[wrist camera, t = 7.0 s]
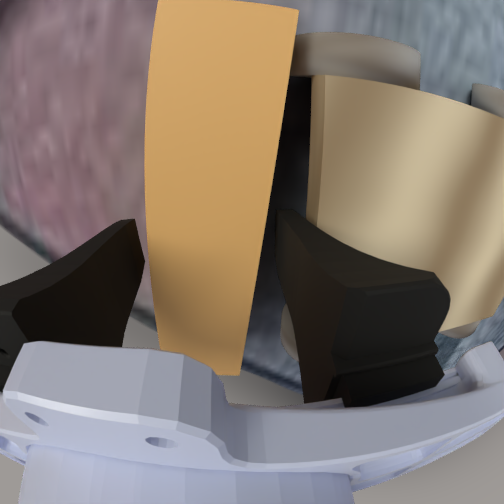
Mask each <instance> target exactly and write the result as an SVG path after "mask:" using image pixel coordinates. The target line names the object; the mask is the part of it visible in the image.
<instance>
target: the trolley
mask: <svg viewBox="0 0 504 504" xmlns="http://www.w3.org/2000/svg"><path fill="white" fill-rule="evenodd" d="M420 64H421V54H420V52H418V51H417V50H415V49H414V48H412V47H409V46H407V45H404V44H402V43H398V42H395V41H392V40H388V39H384V38H379V37H374V36H369V35H362V34H354V33H340V32H316V33H306V34H300V35H296V36H295V41H294V47H293V54H292V61H291V67H290V76H296V77H308V78H312V90H311V132H310V157H309V177H308V194H307V209H306V220H308V221H309V222H311V223H312V224H314V225H315V226H316V227H318V228H319V229H321V230H322V231H324V232H325V233H327V234H329V235H330V236H332V237H334V238H335V239H337V240H339V241H341V242H342V243H344V244H347V245H349V246H351V247H353V248H355V249H357V250H359V251H361V252H364V253H366V254H369V255H371V256H374V257H377V258H379V259H382V260H385V261H388V262H392V263H395V264H399V265H402V266H406V267H411V268H416V269H421V270H426V271H431V272H434V273H435V274H436V276H437V277H438V278H439V279H440V281H441V282H442V283H443V285H444V286H445V287H446V289H447V290H448V291H449V294H450V298H451V301H450V308H449V311H448V314H447V316H446V319H445V321H444V322H443V324H442V326H441V328H440V330H439V333H441V334H443V335H446V336H448V337H452V338H465V337H468V336H470V335H471V334H472V333H474V331H475V330H476V328H477V326H478V325H479V323H480V321H481V320H482V319H485V318H489V317H492V316H493V315H494V313H495V311H496V310H497V308H498V306H499V304H500V302H501V301H502V299H503V297H504V90H502V89H498V88H495V87H491V86H487V85H482V84H472V98H471V106H470V105H467V104H464V103H461V102H458V101H455V100H451V99H448V98H445V97H441V96H438V95H434V94H431V93H427V92H423V91H420ZM280 337H281V342H282V345H283V347H284V349H285V350H286V352H287V353H288V354H289V355H290V356H291V357H292V358H293V359H295V360H296V361H298V362H299V359H298V353H297V346H296V340H295V334H294V329H293V324H292V320H291V316H290V313H289V310H288V306H287V303H286V304H285V306H284V308H283V311H282V318H281V332H280Z"/></svg>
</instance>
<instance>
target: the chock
mask: <svg viewBox="0 0 504 504" xmlns="http://www.w3.org/2000/svg"><path fill="white" fill-rule="evenodd" d="M298 14H299V10H296V9H291V8H285V7H280V6H274V5H267V4H260V3H252V2H242V1H230V0H158V5H157V11H156V17H155V24H154V30H153V38H152V46H151V54H150V64H149V74H148V86H147V101H146V121H145V205H146V226H147V241H148V254H149V266H150V276H151V285H152V294H153V302H154V310H155V317H156V324H157V331H158V338H159V344H160V350H166V351H172V352H178V353H183V354H185V355H187V356H189V357H191V358H193V359H195V360H197V361H199V362H201V363H204V364H206V365H207V366H209V367H211V368H212V369H213V371H214V372H215V374H216V375H238V376H239V374H240V369H241V364H242V358H243V352H244V347H245V341H246V335H247V330H248V324H249V318H250V312H251V307H252V301H253V295H254V289H255V283H256V277H257V271H258V266H259V260H260V254H261V248H262V242H263V236H264V230H265V224H266V218H267V212H268V206H269V200H270V194H271V187H272V181H273V175H274V169H275V163H276V157H277V150H278V144H279V138H280V132H281V125H282V119H283V113H284V106H285V100H286V93H287V87H288V80H289V74H290V67H291V61H292V54H293V47H294V41H295V34H296V27H297V21H298Z"/></svg>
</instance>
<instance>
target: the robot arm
mask: <svg viewBox="0 0 504 504" xmlns="http://www.w3.org/2000/svg"><path fill="white" fill-rule="evenodd" d="M275 260H276V266H277V272H278V277H279V280H280V283H281V287H282V290H283V293H284V297H285V300H286V303H287V306H288V310H289V313H290V316H291V320H292V324H293V329H294V334H295V340H296V346H297V353H298V359H299V366H300V373H301V381H302V389H303V397H304V404H299V405H290V406H281V407H269V406H256V405H244V404H234V403H228V402H227V400H226V396H225V390H224V385H223V383H222V382H221V381H220V379H219V378H218V376H217V375H216V374H215V372H214V371H213V369H212V368H211V367H209V366H207V365H206V364H204V363H201V362H199V361H197V360H195V359H193V358H191V357H189V356H187V355H185V354H183V353H178V352H172V351H166V350H160V349H154V348H128V347H122V343H123V338H124V332H125V329H126V325H127V321H128V318H129V315H130V312H131V309H132V306H133V303H134V301H135V298H136V295H137V292H138V289H139V286H140V283H141V279H142V274H143V269H144V264H145V259H144V255H143V251H142V247H141V243H140V239H139V235H138V231H137V226H136V222H135V219H127V220H120V221H118V222H116V223H114V224H112V225H111V226H109V227H108V228H106V229H104V230H103V231H101V232H100V233H99V234H97V235H96V236H94V237H93V238H91V239H90V240H88V241H87V242H85V243H84V244H82V245H81V246H79V247H78V248H76V249H75V250H73V251H72V252H70V253H69V254H67V255H66V256H64V257H62V258H61V259H59V260H57V261H55V262H53V263H52V264H50V265H48V266H46V267H44V268H42V269H40V270H38V271H36V272H34V273H32V274H30V275H28V276H25V277H23V278H21V279H18V280H15V281H13V282H10V283H8V284H5V285H2V286H0V453H1V454H3V455H4V456H6V457H8V458H10V459H12V460H14V461H16V462H18V463H20V464H22V465H24V466H25V468H24V473H23V478H22V484H21V489H20V495H19V502H18V504H355V503H354V499H353V494H352V492H355V491H358V490H362V489H365V488H368V487H371V486H374V485H377V484H379V483H382V482H385V481H388V480H391V479H393V478H396V477H399V476H401V475H404V474H406V473H408V472H411V471H413V470H415V469H418V468H420V467H422V466H424V465H426V464H429V463H431V462H433V461H435V460H437V459H439V458H441V457H443V456H445V455H447V454H449V453H451V452H452V451H455V450H456V449H458V448H460V447H462V446H464V445H466V444H467V443H469V442H471V441H473V440H474V439H476V438H478V437H480V436H481V435H482V434H484V433H485V432H486V431H488V430H489V429H490V428H491V427H492V426H494V425H495V424H496V423H497V422H498V421H500V419H502V418H503V417H504V360H503V358H502V357H501V355H500V353H499V352H498V350H497V349H496V347H495V345H494V344H493V342H487V343H484V344H482V345H479V346H477V347H474V348H472V349H470V350H468V351H467V352H466V353H464V354H463V355H462V357H461V358H460V359H459V361H458V362H457V364H456V366H455V367H454V368H451V369H448V370H445V371H443V370H442V368H441V366H440V364H439V362H438V360H437V358H436V357H435V354H437V352H438V347H437V345H436V344H435V342H434V339H435V337H436V335H437V333H438V332H439V330H440V328H441V326H442V324H443V322H444V321H445V319H446V316H447V314H448V311H449V308H450V301H451V298H450V294H449V291H448V290H447V289H446V287H445V286H444V285H443V283H442V282H441V281H440V279H439V278H438V277H437V276H436V274H435V273H434V272H431V271H426V270H421V269H416V268H411V267H406V266H402V265H399V264H395V263H392V262H388V261H385V260H382V259H379V258H377V257H374V256H371V255H369V254H366V253H364V252H361V251H359V250H357V249H355V248H353V247H351V246H349V245H347V244H344V243H342V242H341V241H339V240H337V239H335V238H334V237H332V236H330V235H329V234H327V233H325V232H324V231H322V230H321V229H319V228H318V227H316V226H315V225H314V224H312V223H311V222H309V221H308V220H306V219H305V218H304V217H302V216H301V215H300V214H298V213H297V212H295V211H294V210H292V209H282V210H276V217H275Z"/></svg>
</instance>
